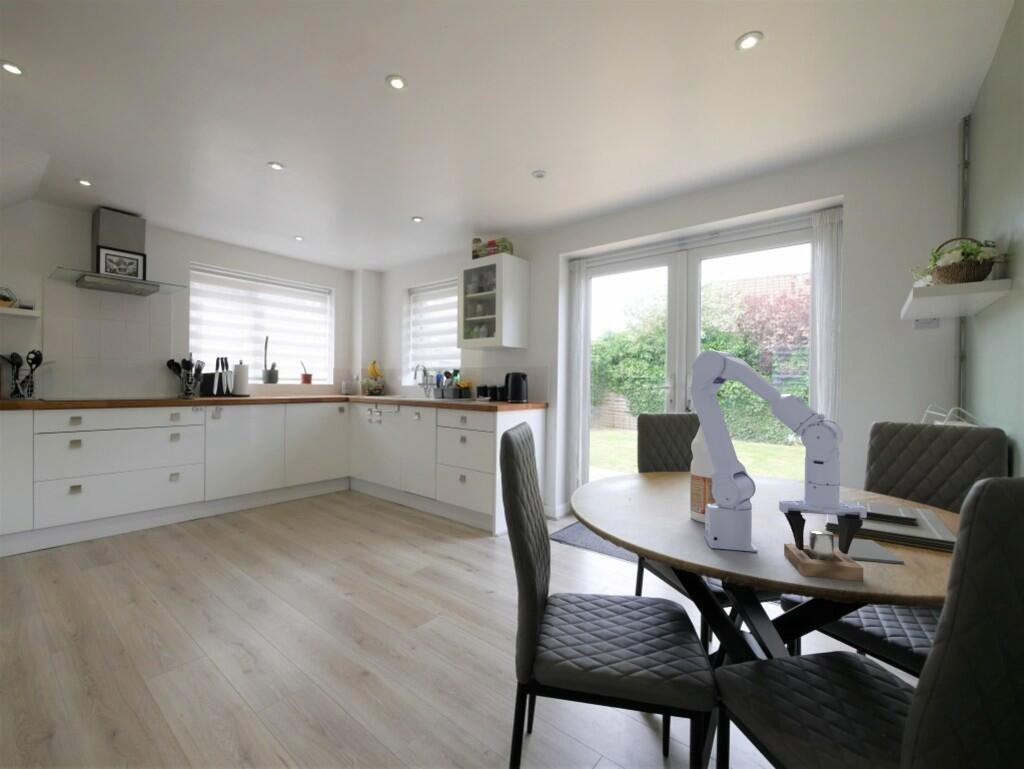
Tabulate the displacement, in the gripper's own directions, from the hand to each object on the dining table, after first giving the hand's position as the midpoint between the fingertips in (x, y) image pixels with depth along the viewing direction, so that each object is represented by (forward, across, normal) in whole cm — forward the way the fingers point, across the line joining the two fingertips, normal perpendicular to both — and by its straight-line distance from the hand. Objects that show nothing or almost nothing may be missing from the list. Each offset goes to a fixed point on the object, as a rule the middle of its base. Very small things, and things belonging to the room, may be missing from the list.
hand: (821, 550), depth 89 cm
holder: (+3, 0, 0) cm, 3 cm away
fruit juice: (+4, -16, +27) cm, 32 cm away
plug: (+3, 0, 0) cm, 3 cm away
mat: (+3, +11, +12) cm, 17 cm away
